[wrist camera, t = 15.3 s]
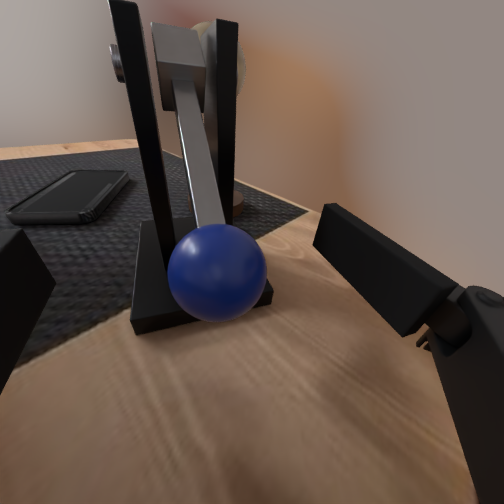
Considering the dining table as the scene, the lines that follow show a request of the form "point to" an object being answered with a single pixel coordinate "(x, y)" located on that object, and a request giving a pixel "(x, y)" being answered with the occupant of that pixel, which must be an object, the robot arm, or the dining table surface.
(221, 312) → the switch lever
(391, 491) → the dining table surface
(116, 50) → the switch bracket
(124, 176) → the phone
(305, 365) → the dining table surface
